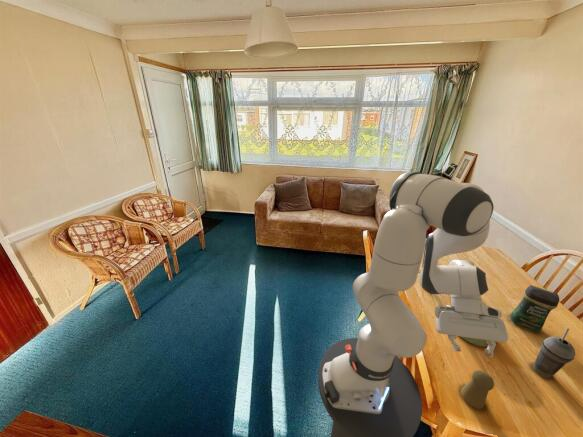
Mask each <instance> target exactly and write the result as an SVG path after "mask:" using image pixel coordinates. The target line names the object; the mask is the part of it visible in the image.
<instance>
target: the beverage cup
mask: <svg viewBox="0 0 583 437" xmlns="http://www.w3.org/2000/svg"><path fill="white" fill-rule="evenodd" d="M569 331H570V328H569V327H566V329H565V331H564V333H563V335H562V337H560V336H559V337H558V336H549V337H546V338H545V339H544V340H543V341H541V342H542V343H541V346H540V350H539V352H538V354H537V356H536V358H535V360H534V363H533V366H532V369H533V370H534V372H535V373H536V374H537V375H539V376H540V377H543V378H545V379H551V378H552V377H553V376H555V375H556V374H557V373H558V372H559V371H560V370H561V369H562V368H563V367H565V366H566V365H567V364H569V363H570V362H572V361H574V359H575V357H576V349H575V347H574V346H573V345H572V343H570V342H569V341H568V340H566V339H565V338H566V337H567V335H568V333H569Z"/></svg>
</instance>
